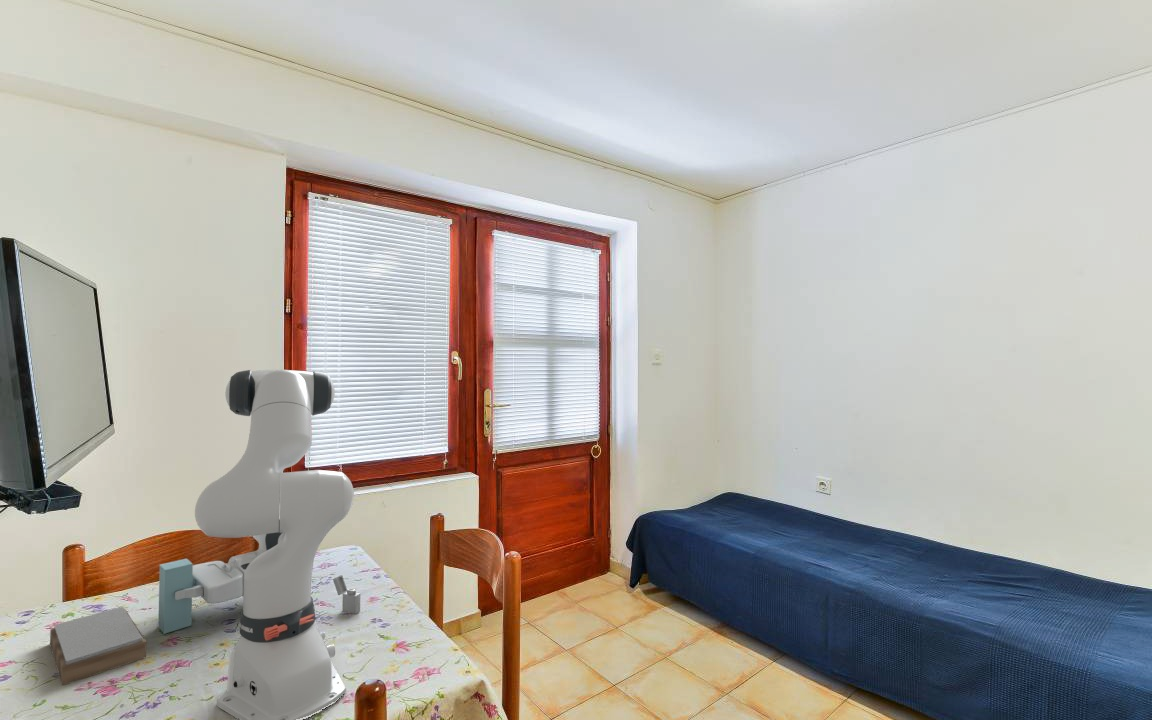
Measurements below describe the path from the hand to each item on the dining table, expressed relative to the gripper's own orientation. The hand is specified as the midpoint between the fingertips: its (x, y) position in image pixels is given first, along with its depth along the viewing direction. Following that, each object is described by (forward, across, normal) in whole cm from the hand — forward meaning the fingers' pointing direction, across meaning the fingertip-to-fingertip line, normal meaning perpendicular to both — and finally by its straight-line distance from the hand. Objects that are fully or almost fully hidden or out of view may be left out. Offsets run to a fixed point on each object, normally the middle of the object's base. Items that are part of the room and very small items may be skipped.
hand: (170, 591), depth 114 cm
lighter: (-30, +22, +8) cm, 38 cm away
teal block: (-1, 0, +8) cm, 8 cm away
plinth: (+12, 0, +8) cm, 15 cm away
